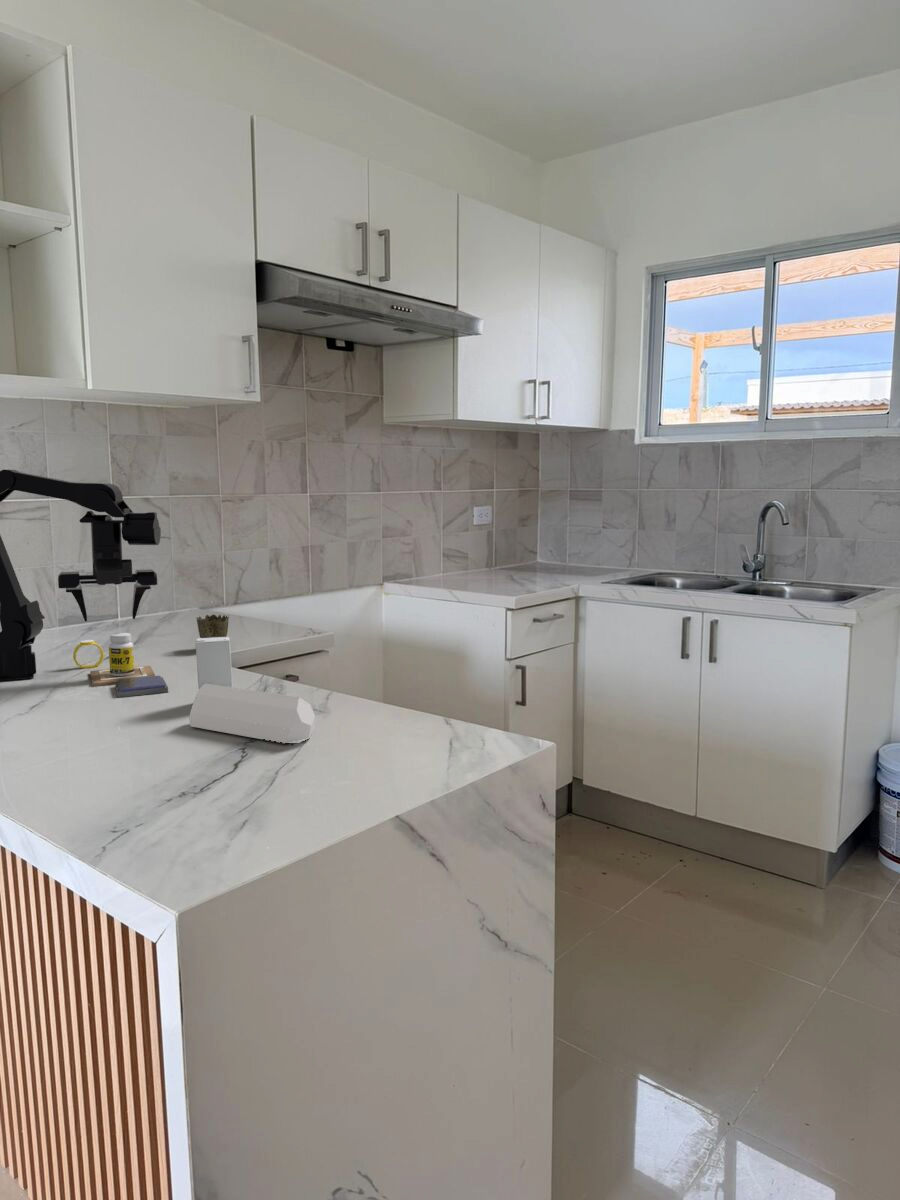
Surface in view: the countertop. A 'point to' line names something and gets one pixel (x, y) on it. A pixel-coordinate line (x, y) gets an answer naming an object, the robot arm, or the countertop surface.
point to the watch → (87, 642)
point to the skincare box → (214, 661)
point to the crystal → (252, 713)
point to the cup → (213, 626)
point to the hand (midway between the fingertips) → (110, 620)
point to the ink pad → (140, 686)
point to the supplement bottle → (121, 655)
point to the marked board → (107, 679)
